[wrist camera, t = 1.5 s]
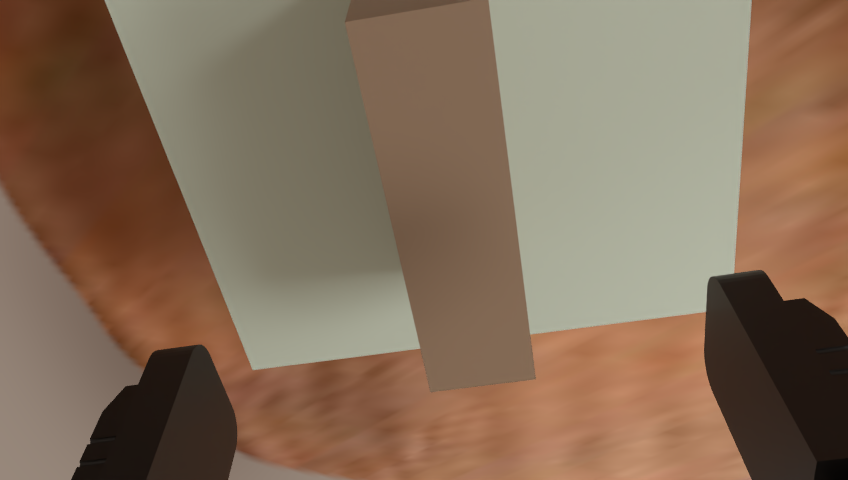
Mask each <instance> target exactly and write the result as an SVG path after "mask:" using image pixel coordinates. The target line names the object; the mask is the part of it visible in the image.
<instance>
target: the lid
mask: <svg viewBox="0 0 848 480" xmlns="http://www.w3.org/2000/svg"><path fill="white" fill-rule="evenodd" d="M105 3H106V5H107V8H108V10H109V13H110V15H111V18H112V20H113V23H114V25H115V28H116V30H117V33H118V35H119V38H120V40H121V43H122V45H123V48H124V50H125V53H126V55H127V58H128V60H129V63H130V65H131V68H132V70H133V73H134V75H135V78H136V80H137V82H138V85H139V87H140V90H141V92H142V95H143V97H144V100H145V102H146V105H147V107H148V110H149V112H150V115H151V117H152V120H153V122H154V125H155V127H156V130H157V132H158V135H159V137H160V140H161V142H162V145H163V147H164V150H165V152H166V155H167V157H168V160H169V162H170V165H171V167H172V170H173V172H174V175H175V177H176V180H177V182H178V185H179V187H180V190H181V192H182V195H183V197H184V200H185V202H186V205H187V207H188V210H189V212H190V215H191V217H192V220H193V222H194V225H195V227H196V230H197V232H198V235H199V237H200V240H201V242H202V245H203V247H204V250H205V252H206V254H207V257H208V259H209V262H210V264H211V267H212V269H213V272H214V274H215V277H216V279H217V282H218V284H219V287H220V289H221V292H222V294H223V297H224V299H225V302H226V304H227V307H228V309H229V312H230V314H231V317H232V319H233V322H234V324H235V327H236V329H237V332H238V334H239V337H240V339H241V342H242V344H243V347H244V349H245V352H246V354H247V357H248V359H249V362H250V364H251V367H252V369H253V370H257V369H265V368H273V367H280V366H288V365H296V364H304V363H311V362H319V361H327V360H335V359H343V358H350V357H358V356H366V355H374V354H382V353H389V352H397V351H405V350H413V349H421V354H422V358H423V362H424V366H425V371H426V375H427V379H428V384H429V388H430V392H436V391H444V390H452V389H460V388H469V387H477V386H485V385H493V384H501V383H509V382H517V381H526V380H534V379H536V377H535V369H534V361H533V353H532V345H531V337H530V334H537V333H545V332H553V331H560V330H568V329H576V328H584V327H592V326H599V325H607V324H615V323H623V322H631V321H638V320H646V319H654V318H662V317H669V316H677V315H685V314H693V313H701V312H706V302H707V285H708V281H709V278H710V277H712V276H719V275H726V274H734V266H735V250H736V235H737V219H738V204H739V189H740V173H741V158H742V142H743V127H744V111H745V96H746V80H747V65H748V50H749V34H750V19H751V3H752V0H105Z"/></svg>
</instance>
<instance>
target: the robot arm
mask: <svg viewBox="0 0 848 480" xmlns="http://www.w3.org/2000/svg"><path fill="white" fill-rule="evenodd" d="M704 357H705V365H706V371H707V376H708V380H709V383H710V386H711V389H712V391H713V394H714V396H715V398H716V400H717V403H718V405H719V407H720V409H721V412H722V414H723V416H724V418H725V421H726V423H727V425H728V427H729V430H730V432H731V434H732V436H733V439H734V441H735V443H736V445H737V447H738V450H739V452H740V454H741V456H742V459H743V461H744V463H745V465H746V468H747V470H748V472H749V474H750V477H751V479H752V480H848V337H847V335H846V334H845V333H844V331H843V330H842V328H841V327H840V326H839V324H838V323H837V321H836V320H835V319H834V318H833V317H831V316H830V315H828V314H827V313H825V312H824V311H823V310H821V309H820V308H818V307H817V306H815V305H814V304H812V303H811V302H809V301H808V300H806V299H805V298H802V299H795V300H787V301H783V299H782V297H781V296H780V294H779V293H778V291H777V290H776V288H775V287H774V285H773V283H772V282H771V280H770V279H769V277H768V276H767V274H766V273H765V272H764V271H762V270H756V271H748V272H741V273H734V274H726V275H719V276H712V277H710V278H709V281H708V285H707V302H706V323H705V344H704ZM90 441H91V442H90V444H88V445H87V447H86V449H85V451H84V453H83V455H82V458H81V460H80V467H77V468H76V471H75V473H74V475H73V477H72V479H71V480H228V478H229V473H230V469H231V466H232V462H233V458H234V454H235V450H236V444H237V424H236V418H235V413H234V410H233V407H232V405H231V403H230V401H229V398H228V396H227V394H226V391H225V389H224V387H223V384H222V382H221V380H220V377H219V375H218V373H217V370H216V368H215V366H214V363H213V361H212V359H211V357H210V354H209V352H208V351H207V349H206V348H205V347H204V346H203V345H193V346H185V347H178V348H171V349H163V350H157V351H155V352H153V353H152V355H151V356H150V358H149V360H148V363H147V365H146V367H145V370H144V372H143V374H142V377H141V379H140V382H139V384H138V385H132V386H126V387H125V388H124V389H123V390H122V391H121V392H120V393H119V394H118V395H117V396H116V398H115V399H114V400H113V401H112V402H111V403H110V404H109V405H108V406H107V408H106V409H105V410H104V411H103V412H102V414H101V416H100V418H99V420H98V423H97V425H96V427H95V429H94V432H93V434H92V436H91V438H90Z"/></svg>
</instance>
